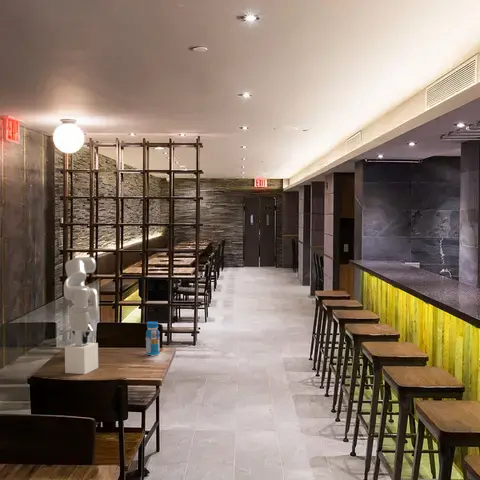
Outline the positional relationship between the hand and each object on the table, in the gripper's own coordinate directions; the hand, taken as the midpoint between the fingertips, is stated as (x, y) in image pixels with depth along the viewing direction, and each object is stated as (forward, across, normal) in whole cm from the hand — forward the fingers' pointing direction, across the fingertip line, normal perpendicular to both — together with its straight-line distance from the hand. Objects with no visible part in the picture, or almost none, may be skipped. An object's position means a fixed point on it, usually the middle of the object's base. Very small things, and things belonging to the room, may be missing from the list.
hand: (81, 342), depth 322 cm
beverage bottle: (+15, +22, +44) cm, 52 cm away
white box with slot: (+15, 0, 0) cm, 15 cm away
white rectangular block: (+2, 0, 0) cm, 2 cm away
